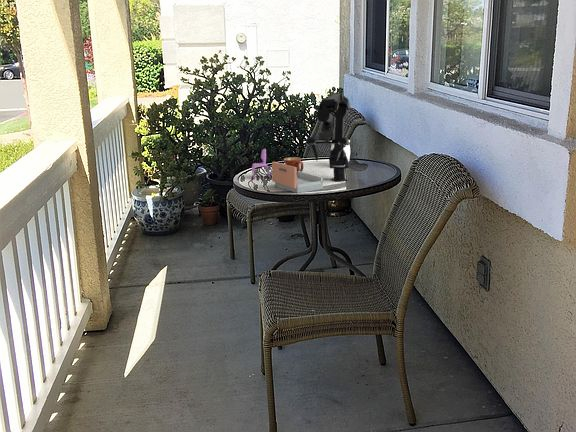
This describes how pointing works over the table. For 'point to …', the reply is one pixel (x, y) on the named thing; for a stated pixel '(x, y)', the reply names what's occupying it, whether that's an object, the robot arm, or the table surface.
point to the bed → (305, 183)
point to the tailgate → (284, 174)
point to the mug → (294, 163)
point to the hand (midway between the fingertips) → (326, 160)
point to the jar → (346, 149)
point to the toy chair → (261, 163)
